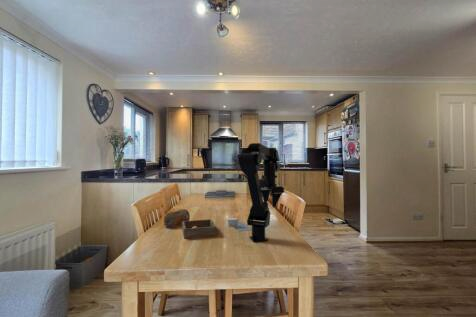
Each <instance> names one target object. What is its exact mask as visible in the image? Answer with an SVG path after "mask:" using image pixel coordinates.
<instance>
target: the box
mask: <svg viewBox="0 0 476 317" xmlns="http://www.w3.org/2000/svg"><path fill="white" fill-rule="evenodd" d="M194 226H196V227H198V228H192V227H194ZM181 227H182V228H181V229H182V236H183V239H184V240H188V239H198V238H208V237H217V231H218V229H217V225H216V224H215V223H214V221H213V220H212V219H211V218H210V219H209V218H208V219H207V218H206V219H196V220H195V219H194V220H189V221H182V224H181Z"/></svg>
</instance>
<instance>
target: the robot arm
mask: <svg viewBox="0 0 476 317" xmlns="http://www.w3.org/2000/svg"><path fill="white" fill-rule="evenodd" d="M237 158H238V159H237V163H238V165H239V169H240V171H241V172H242V173H243V174H244V175H245V177H246V181H247V186H248V190H249V195H250V201H251V204H252V205H251V207H250V209H249V214H248V216H247V219H246V223H247V224H246V225H247V226H251V229H252V230H251V236H248V237H249V239H250V240H252V242H253V243H258V242H259V243H260V242H268V241H269V239H268V238H267V237H266V228H267V227H269V226H270V220H271V211H270V208H269V203H268V200H269V196H270V197H271V205H272V208H276V206H277V204H278V202H279V200H280V199H281V196H283V193H285V188H284V187H283V185H278V184H277V183H276V178H278V175H276V173H277V172H280V171H281V169H282V166H281V163H280V156H279V151H278V149H277V148H276V147H267V146H265V145H263V144H262V143H260V142H256V143H255V142H252V143H249V144H248V146H247V147H246V148H244V150H242V151H241V152H240V155H239V156H238V157H237ZM262 161H263V162H262ZM261 163H262V165H263V175H262V174H261V178H260V177H259V170H260V167H261Z"/></svg>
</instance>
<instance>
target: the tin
mask: <svg viewBox="0 0 476 317" xmlns="http://www.w3.org/2000/svg"><path fill="white" fill-rule="evenodd" d="M182 221H190V212H189V210H187V209H185V208H184V209H178V210H174V211H169V212H167V213H166V214H165V215H164V217H163V223H164V224H163V225H164V226H165V227H166V228H168V229H169V228H174V227H177V226H180V225H182Z"/></svg>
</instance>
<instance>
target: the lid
mask: <svg viewBox="0 0 476 317" xmlns="http://www.w3.org/2000/svg"><path fill="white" fill-rule="evenodd" d="M238 220H239V219H238V218H237V217H234V218H233V217H232V218H230V217H229V218H226V225H227V227H233V228H235V230H236V231H237V232H247V231H252V227H249V225H247V224H246V223H244V222H243V221H238Z"/></svg>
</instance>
